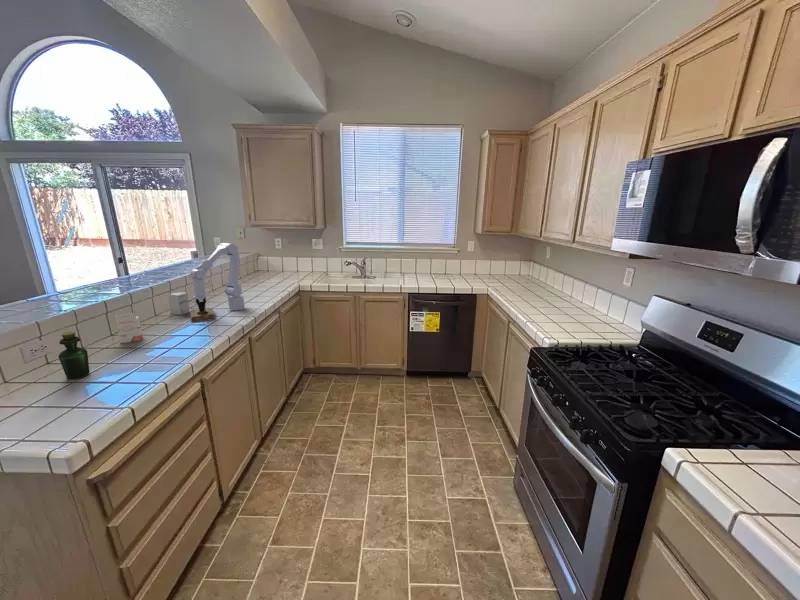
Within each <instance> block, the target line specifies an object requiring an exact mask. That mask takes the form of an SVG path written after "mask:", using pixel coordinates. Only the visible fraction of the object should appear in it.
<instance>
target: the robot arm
mask: <svg viewBox="0 0 800 600" xmlns="http://www.w3.org/2000/svg"><path fill="white" fill-rule="evenodd" d="M223 255H226V256H227V257H228V258H229V269H228V271H229V273H228V282H227V283H226V284H225V288H224V294H226V296H227V301H228V307H227V309H228V311H229V312H232V311H234V310H235V311H243V309H244V310H245V299H244V296H243V295H242V293H243V291H242V286H241V284H240V283H239V272H240V271H239V270H240V268H239V267H240V253H239V248H238V246H237V245H236V244H234V243H229V242H221V243H219V244H218V245H217V248H216V249H215V250H214V251H213V253H212V254H211V255H210V256H209V257H208V258H207V259H202V260H201V262H200V263H199V265H197V266H196V267H195V268H193V269H191V270H190V273H189V277H190V278H191V280H192V283H193V291H194V293H193V294H194V295H193V296H192V299H194V300H195V303H196V304H197V308H198V307H199V310H200V312H204V311H205V305H206V303H207V295H206V286H205V278H206V275H207V273H208V272H209V270H211V269H212V268H213V266H214V265H213V263H215V262H216V260H218V259H219V258H220V257H221V256H223ZM235 311H234V312H235Z"/></svg>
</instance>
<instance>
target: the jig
mask: <svg viewBox="0 0 800 600" xmlns="http://www.w3.org/2000/svg"><path fill="white" fill-rule="evenodd" d="M206 313H207V314H201V315H199V311H198V308H195V309H191V310H190V318H191V322H192V321H195V322H200V321H199V320H203V321H209V320H208V319H211V320H215V319H216V316H215V311H214V309H213V307H206Z"/></svg>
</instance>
